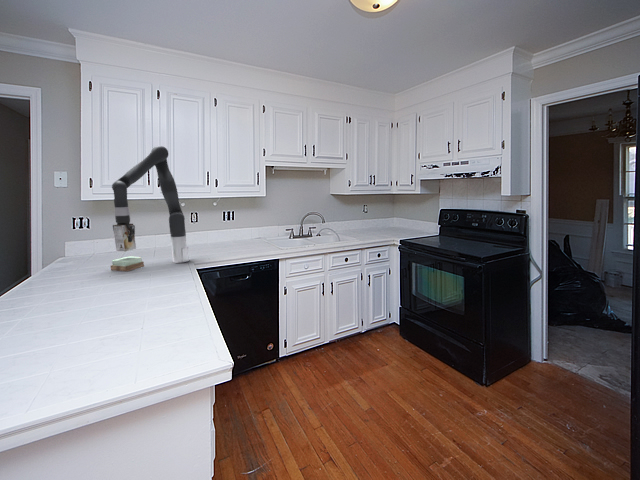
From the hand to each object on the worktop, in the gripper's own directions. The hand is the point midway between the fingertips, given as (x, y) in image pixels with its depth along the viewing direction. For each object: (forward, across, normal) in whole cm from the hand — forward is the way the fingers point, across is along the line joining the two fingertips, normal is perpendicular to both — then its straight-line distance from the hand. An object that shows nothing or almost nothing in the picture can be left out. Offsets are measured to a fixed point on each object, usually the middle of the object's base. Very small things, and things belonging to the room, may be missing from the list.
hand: (125, 241), depth 197 cm
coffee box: (+5, 0, 0) cm, 5 cm away
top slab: (+14, 0, 0) cm, 14 cm away
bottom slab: (+17, 0, 0) cm, 17 cm away
